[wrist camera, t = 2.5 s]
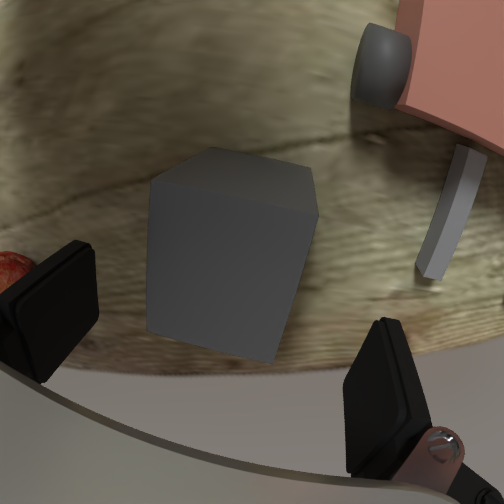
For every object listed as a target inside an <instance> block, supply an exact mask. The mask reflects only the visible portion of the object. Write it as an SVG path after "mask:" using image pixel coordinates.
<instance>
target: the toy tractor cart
mask: <svg viewBox="0 0 504 504" xmlns="http://www.w3.org/2000/svg"><path fill="white" fill-rule="evenodd" d="M351 99H353V100H357V101H360V102H363V103H367V104H370V105H373V106H376V107H379V108H382V109H385V110H391V109H393V108H394V109H397V110H399V111H402V112H405V113H408V114H410V115H413V116H416V117H418V118H421V119H423V120H426V121H429V122H431V123H433V124H436V125H438V126H441V127H443V128H445V129H448V130H450V131H452V132H455V133H457V134H459V135H461V136H463V137H466V138H468V139H470V140H472V141H474V142H476V143H478V144H480V145H482V146H484V147H486V148H488V149H490V150H492V151H494V152H496V153H498V154H500V155H502V156H504V0H399V7H398V13H397V20H396V26H395V31H394V30H391V29H388V28H385V27H382V26H379V25H376V24H373V23H369V24H368V25H367V26H366V28H365V30H364V33H363V35H362V38H361V41H360V44H359V47H358V51H357V55H356V59H355V64H354V68H353V74H352V80H351ZM487 158H488V156H486V155H484V154H482V153H480V152H477V151H475V150H473V149H471V148H469V147H466V146H463V145H460V144H456V147H455V151H454V155H453V158H452V162H451V165H450V168H449V172H448V175H447V178H446V181H445V184H444V188H443V191H442V194H441V197H440V200H439V202H438V205H437V208H436V211H435V214H434V217H433V219H432V222H431V225H430V227H429V230H428V233H427V235H426V238H425V240H424V243H423V245H422V248H421V250H420V253H419V255H418V257H417V260H416V262H415V264H416V265H417V267H418V269H419V270H420V272H421V274H422V275H423V277H427V278H431V279H435V280H439V281H441V280H442V278H443V276H444V274H445V271H446V269H447V267H448V265H449V263H450V260H451V258H452V256H453V254H454V251H455V249H456V247H457V244H458V242H459V239H460V237H461V234H462V232H463V229H464V227H465V224H466V222H467V219H468V216H469V214H470V211H471V208H472V205H473V202H474V200H475V197H476V194H477V191H478V188H479V185H480V182H481V178H482V175H483V172H484V169H485V165H486V162H487Z"/></svg>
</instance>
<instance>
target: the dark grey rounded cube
mask: <svg viewBox="0 0 504 504" xmlns="http://www.w3.org/2000/svg"><path fill="white" fill-rule="evenodd" d="M318 217H319V213H318V207H317V201H316V194H315V188H314V182H313V176H312V171H311V168H309V167H305V166H301V165H297V164H293V163H288V162H284V161H279V160H275V159H270V158H266V157H261V156H256V155H251V154H246V153H241V152H236V151H231V150H226V149H220V148H215V147H210V148H208V149H206V150H204V151H202V152H200V153H198V154H196V155H194V156H193V157H191V158H189V159H187V160H185V161H183V162H181V163H180V164H178V165H176V166H174V167H172V168H171V169H169V170H167V171H165V172H163V173H162V174H160V175H158V176H156V177H155V178H153V179H151V188H150V202H149V218H148V238H147V270H146V321H147V331H148V332H151V333H154V334H157V335H161V336H164V337H167V338H171V339H174V340H178V341H181V342H185V343H188V344H192V345H195V346H199V347H203V348H207V349H211V350H214V351H218V352H222V353H226V354H230V355H235V356H239V357H243V358H247V359H252V360H256V361H261V362H265V363H270V364H273V362H274V359H275V356H276V353H277V350H278V347H279V344H280V341H281V338H282V335H283V332H284V329H285V326H286V323H287V320H288V317H289V314H290V310H291V307H292V304H293V301H294V298H295V295H296V291H297V288H298V285H299V282H300V278H301V275H302V272H303V268H304V265H305V262H306V258H307V255H308V252H309V248H310V245H311V241H312V238H313V234H314V231H315V227H316V224H317V220H318Z"/></svg>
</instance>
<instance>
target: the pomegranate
mask: <svg viewBox="0 0 504 504" xmlns="http://www.w3.org/2000/svg"><path fill="white" fill-rule="evenodd" d="M33 268H34V264H33V262H32V261H31V260H30V259H29V258H27V257H25V256H23V255H20V254H17V253H14V252H8V251H4V252H0V294H1V293H2V292H3V291H4V290H6V289H7V288H8V287H10V286H11V285H12V284H13V283H15V282H16V281H17V280H19V279H20V278H21V277H23V276H24V275H25V274H27V273H28V272H29V271H31V270H32V269H33Z"/></svg>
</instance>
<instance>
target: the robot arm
mask: <svg viewBox="0 0 504 504" xmlns="http://www.w3.org/2000/svg"><path fill="white" fill-rule="evenodd" d="M98 317H99V306H98V295H97V281H96V265H95V251H94V250H93V249H92V247H91V245H90V244H89V243H86V242H82V241H79V240H73V241H72V242H70V243H69V244H67V245H66V246H64V247H63V248H62V249H60V250H59V251H57V252H56V253H54V254H53V255H52V256H50V257H49V258H47V259H46V260H44V261H43V262H42V263H40V264H39V265H38V266H36V267H35V268H33V269H32V270H31V271H29V272H28V273H27V274H25V275H24V276H23V277H21V278H20V279H19V280H17V281H16V282H15V283H13V284H12V285H11V286H10V287H8V288H7V289H6V290H4V291H3V292H2V293H1V294H0V504H504V499H503V498H502V495H501V493H500V492H499V491H498V490H497V489H496V488H494V487H493V486H492V485H491V484H489V483H488V482H487V481H485V480H484V479H483V478H482V477H480V476H479V475H478V474H476V473H475V472H474V471H473V470H471V469H470V468H469V467H468V466H466V465H465V464H464V463H462V461H463V459H464V455H465V450H464V445H463V443H462V441H461V439H460V438H459V437H458V435H457V434H456V433H454V432H453V431H452V430H450V429H448V428H445V427H441V426H439V427H433V426H432V423H431V417H430V414H429V410H428V407H427V403H426V399H425V396H424V393H423V389H422V386H421V383H420V379H419V376H418V373H417V370H416V367H415V364H414V361H413V357H412V354H411V351H410V348H409V346H408V343H407V340H406V337H405V334H404V331H403V329H402V326H401V323H400V321H399V320H396V319H391V318H386V317H382V318H381V319H380V320H379V321H378V320H375V321H374V323H373V324H372V326H371V329H370V331H369V333H368V335H367V337H366V339H365V341H364V343H363V345H362V347H361V349H360V351H359V353H358V355H357V357H356V358H355V360H354V362H353V364H352V366H351V368H350V370H349V372H348V374H347V375H346V377H345V380H344V383H343V399H344V400H343V401H344V419H345V441H346V471H347V473H351V477H340V476H330V475H321V474H314V473H306V472H300V471H292V470H286V469H280V468H274V467H269V466H263V465H258V464H253V463H249V462H244V461H239V460H235V459H231V458H227V457H223V456H219V455H215V454H211V453H208V452H204V451H200V450H197V449H193V448H190V447H187V446H183V445H180V444H177V443H174V442H171V441H168V440H165V439H161V438H159V437H156V436H153V435H150V434H148V433H145V432H142V431H139V430H137V429H134V428H132V427H129V426H127V425H124V424H122V423H119V422H116V421H114V420H112V419H110V418H107V417H105V416H103V415H100V414H98V413H96V412H94V411H91V410H89V409H87V408H85V407H83V406H81V405H79V404H77V403H75V402H73V401H70V400H68V399H66V398H64V397H62V396H60V395H59V394H57V393H55V392H53V391H51V390H49V389H47V388H46V387H43V386H42V385H40V384H41V383H45V382H46V381H47V380H48V379H49V378H50V377H51V376H52V374H53V373H54V372H55V371H56V369H57V368H58V367H59V366H60V364H61V363H62V362H63V361H64V360H65V358H66V357H67V356H68V355H69V354H70V352H71V351H72V350H73V349H74V348H75V346H76V345H77V344H78V343H79V342H80V341H81V339H82V338H83V337H84V336H85V335H86V333H87V332H88V331H89V330H90V329H91V328H92V327H93V325H94V324H95V323H96V322H97V320H98Z"/></svg>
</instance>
